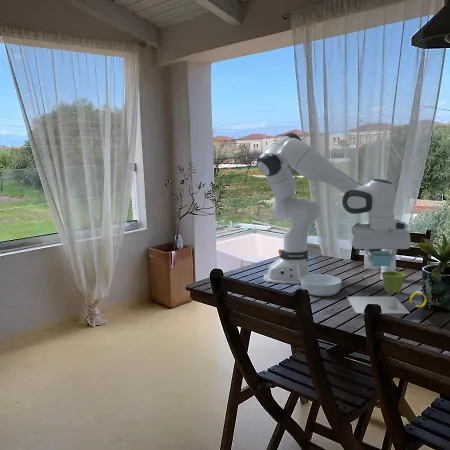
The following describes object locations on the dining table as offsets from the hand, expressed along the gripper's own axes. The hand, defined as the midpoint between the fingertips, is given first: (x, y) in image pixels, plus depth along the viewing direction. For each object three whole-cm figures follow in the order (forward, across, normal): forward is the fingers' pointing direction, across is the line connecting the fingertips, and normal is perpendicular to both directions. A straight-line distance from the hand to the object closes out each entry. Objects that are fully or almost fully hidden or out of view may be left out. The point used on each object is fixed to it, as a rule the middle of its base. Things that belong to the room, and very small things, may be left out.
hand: (380, 260), depth 161 cm
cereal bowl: (+20, -20, +18) cm, 33 cm away
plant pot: (+20, +10, +22) cm, 31 cm away
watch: (+20, +16, +6) cm, 26 cm away
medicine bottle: (+19, +10, +65) cm, 68 cm away
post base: (+19, 0, +3) cm, 20 cm away
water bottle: (+19, +13, +45) cm, 50 cm away
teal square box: (+1, 0, 0) cm, 1 cm away
